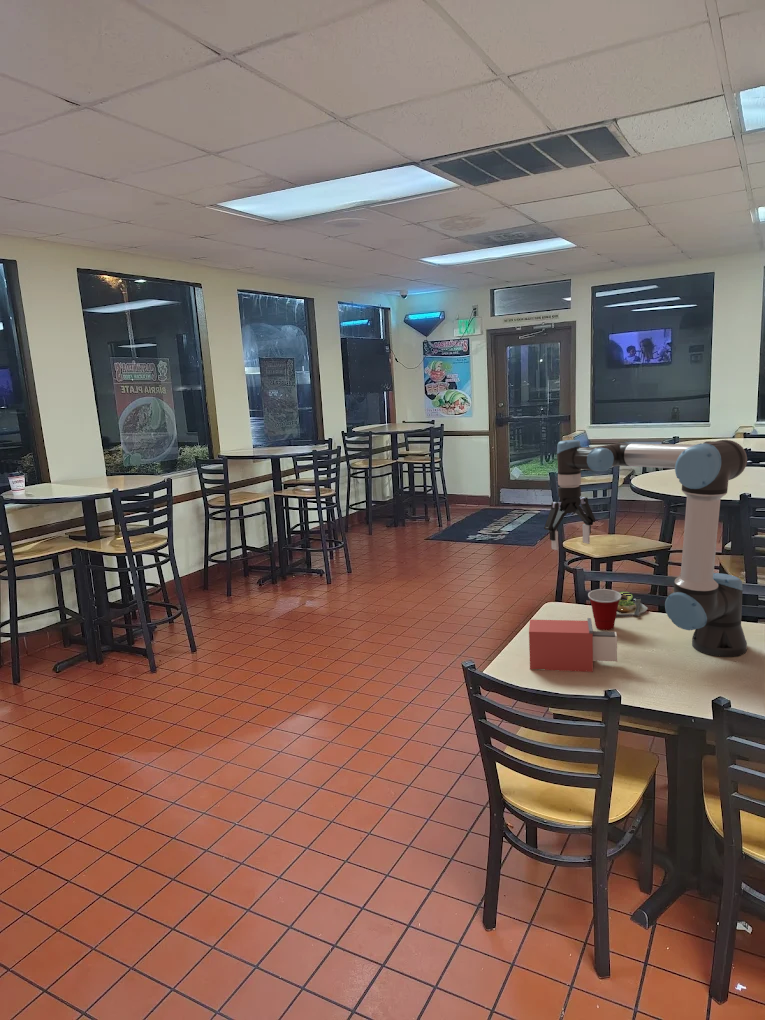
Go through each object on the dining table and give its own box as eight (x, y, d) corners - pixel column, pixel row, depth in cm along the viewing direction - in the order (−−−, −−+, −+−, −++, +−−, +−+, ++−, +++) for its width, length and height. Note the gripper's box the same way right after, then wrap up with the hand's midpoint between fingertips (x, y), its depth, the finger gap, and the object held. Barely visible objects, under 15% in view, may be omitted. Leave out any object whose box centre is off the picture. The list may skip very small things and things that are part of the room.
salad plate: (660, 617, 235) (660, 605, 235) (610, 622, 234) (610, 609, 233) (635, 600, 254) (636, 588, 253) (589, 604, 253) (589, 592, 252)
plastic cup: (588, 633, 226) (587, 598, 223) (588, 621, 236) (587, 588, 233) (622, 634, 222) (622, 599, 220) (620, 622, 233) (620, 589, 230)
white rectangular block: (553, 659, 202) (553, 634, 201) (553, 655, 205) (553, 630, 204) (617, 661, 198) (617, 635, 197) (616, 657, 201) (616, 631, 199)
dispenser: (530, 669, 201) (528, 629, 199) (530, 655, 211) (529, 616, 209) (593, 672, 197) (592, 630, 194) (591, 657, 207) (590, 618, 204)
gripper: (590, 480, 238) (591, 538, 242) (532, 489, 228) (534, 549, 232) (605, 482, 231) (606, 542, 235) (546, 491, 221) (548, 554, 225)
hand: (570, 546), depth 233 cm, fingers open, 13 cm apart
